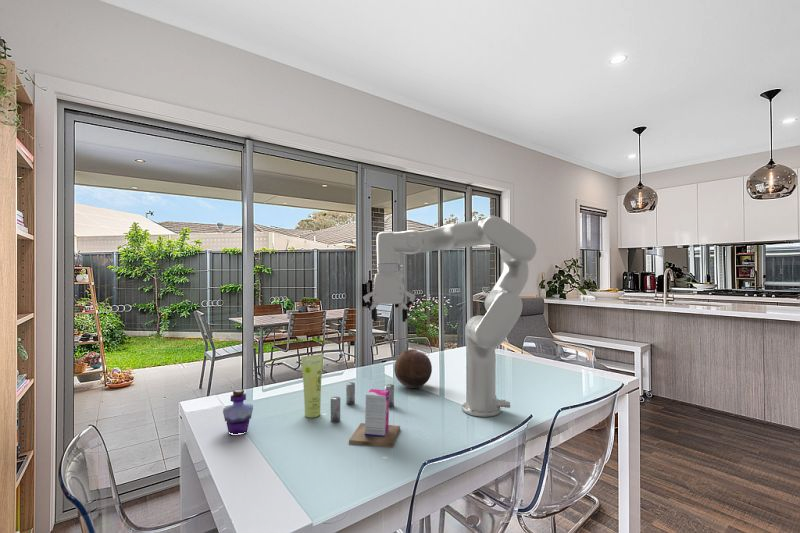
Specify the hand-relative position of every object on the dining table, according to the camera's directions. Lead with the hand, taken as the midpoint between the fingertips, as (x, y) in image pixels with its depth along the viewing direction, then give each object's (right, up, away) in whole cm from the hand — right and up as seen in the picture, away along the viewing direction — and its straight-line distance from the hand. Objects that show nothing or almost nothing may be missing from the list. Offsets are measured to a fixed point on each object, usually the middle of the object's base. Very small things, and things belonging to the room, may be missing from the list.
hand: (389, 321), depth 130 cm
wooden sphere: (+9, -31, +28) cm, 43 cm away
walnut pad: (-3, -30, -18) cm, 35 cm away
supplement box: (-3, -29, -18) cm, 34 cm away
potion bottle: (-44, -30, -15) cm, 55 cm away
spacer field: (-8, -30, 0) cm, 31 cm away
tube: (-25, -30, -2) cm, 39 cm away
